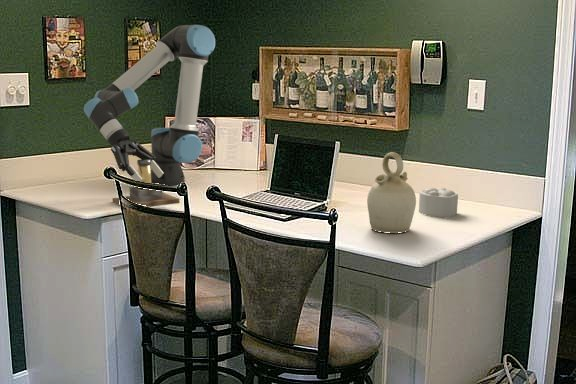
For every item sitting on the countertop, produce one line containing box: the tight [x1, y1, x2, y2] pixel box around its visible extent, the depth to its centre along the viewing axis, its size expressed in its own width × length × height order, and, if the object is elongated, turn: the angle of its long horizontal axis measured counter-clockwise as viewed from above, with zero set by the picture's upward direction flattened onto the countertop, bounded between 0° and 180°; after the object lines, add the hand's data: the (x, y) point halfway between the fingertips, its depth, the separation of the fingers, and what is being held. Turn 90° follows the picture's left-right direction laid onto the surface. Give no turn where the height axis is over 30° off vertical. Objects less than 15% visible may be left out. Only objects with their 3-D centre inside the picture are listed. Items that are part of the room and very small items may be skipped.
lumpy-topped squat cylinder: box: [418, 187, 459, 218], centre depth 260 cm, size 10×13×9 cm
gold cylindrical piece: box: [136, 159, 151, 190], centre depth 270 cm, size 5×5×14 cm
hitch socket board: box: [112, 186, 181, 207], centre depth 271 cm, size 20×14×6 cm
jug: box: [366, 151, 417, 233], centre depth 235 cm, size 15×16×25 cm
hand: (150, 178), depth 269 cm, fingers open, 13 cm apart
